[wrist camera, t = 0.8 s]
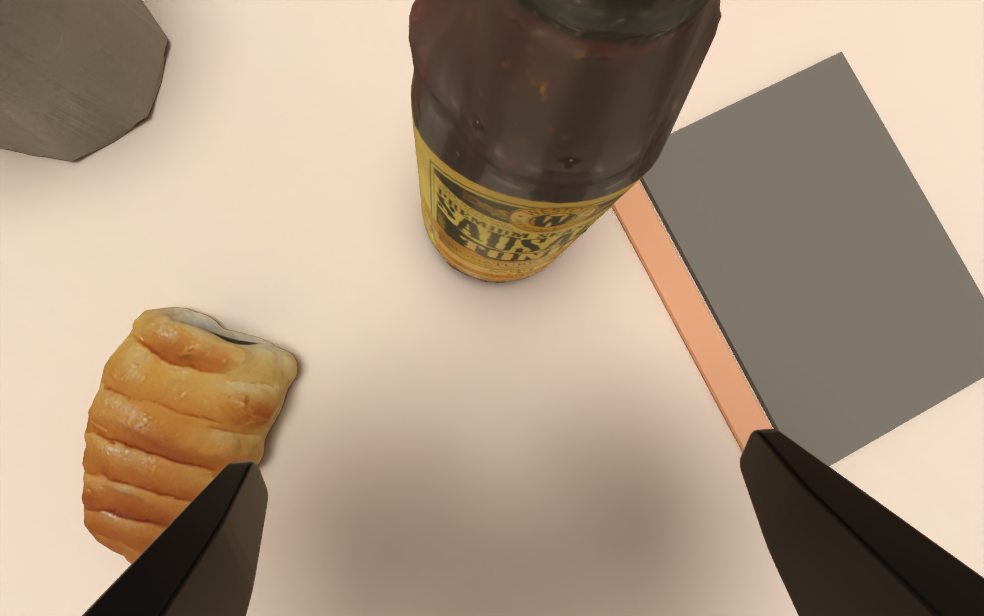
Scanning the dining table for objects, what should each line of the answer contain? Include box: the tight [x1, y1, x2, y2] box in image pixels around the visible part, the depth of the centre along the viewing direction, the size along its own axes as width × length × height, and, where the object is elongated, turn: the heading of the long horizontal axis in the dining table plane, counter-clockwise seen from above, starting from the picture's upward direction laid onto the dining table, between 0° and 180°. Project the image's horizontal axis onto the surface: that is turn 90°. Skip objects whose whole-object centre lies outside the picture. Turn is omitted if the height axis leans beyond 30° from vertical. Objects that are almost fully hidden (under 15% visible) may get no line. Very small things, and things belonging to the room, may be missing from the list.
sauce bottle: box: [409, 0, 721, 282], centre depth 13 cm, size 7×6×20 cm
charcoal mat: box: [640, 52, 984, 466], centre depth 24 cm, size 16×12×1 cm
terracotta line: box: [612, 181, 772, 451], centre depth 23 cm, size 26×2×1 cm, turn 27°
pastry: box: [82, 307, 297, 564], centre depth 20 cm, size 9×7×4 cm
